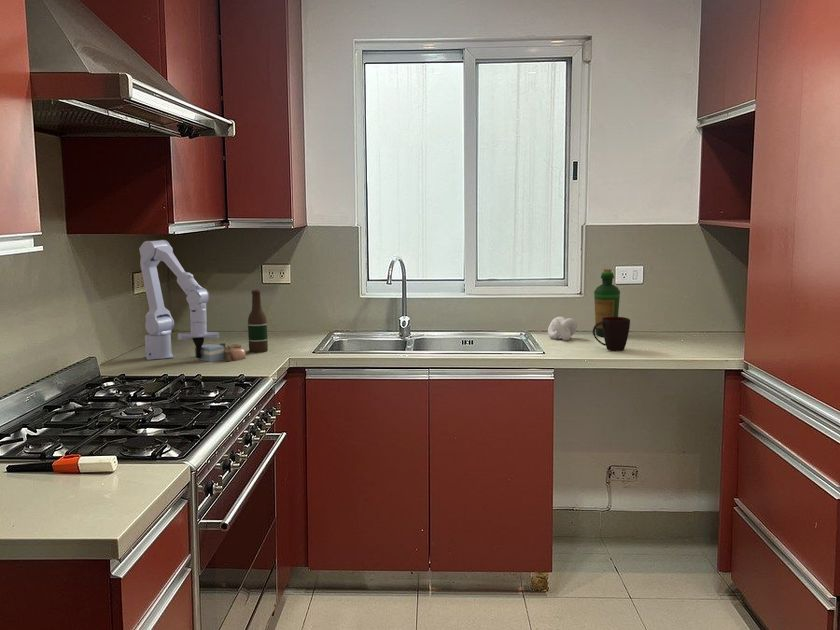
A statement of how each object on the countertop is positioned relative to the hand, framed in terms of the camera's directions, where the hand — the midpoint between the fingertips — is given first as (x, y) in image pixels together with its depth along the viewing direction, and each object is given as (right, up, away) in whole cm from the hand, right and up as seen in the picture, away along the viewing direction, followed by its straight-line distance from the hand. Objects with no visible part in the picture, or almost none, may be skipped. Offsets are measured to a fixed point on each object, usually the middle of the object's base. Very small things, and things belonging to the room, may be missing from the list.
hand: (199, 357), depth 298 cm
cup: (+154, +2, +9) cm, 155 cm away
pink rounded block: (+14, -1, +3) cm, 14 cm away
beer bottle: (+19, +1, +17) cm, 25 cm away
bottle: (+160, +7, +41) cm, 166 cm away
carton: (+4, -1, +2) cm, 5 cm away
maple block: (+11, 0, +9) cm, 14 cm away
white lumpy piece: (+140, +6, +36) cm, 144 cm away
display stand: (+5, -1, +2) cm, 6 cm away
